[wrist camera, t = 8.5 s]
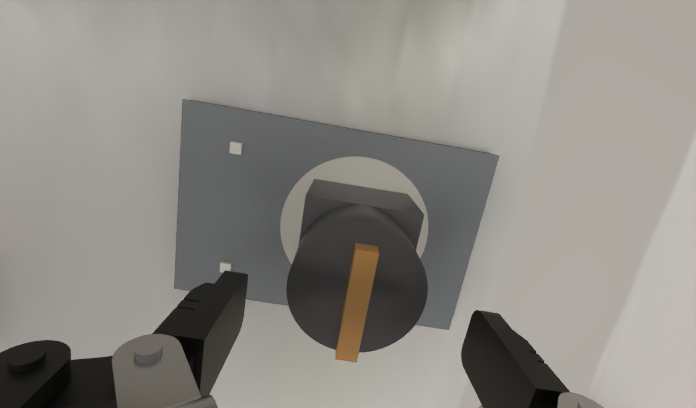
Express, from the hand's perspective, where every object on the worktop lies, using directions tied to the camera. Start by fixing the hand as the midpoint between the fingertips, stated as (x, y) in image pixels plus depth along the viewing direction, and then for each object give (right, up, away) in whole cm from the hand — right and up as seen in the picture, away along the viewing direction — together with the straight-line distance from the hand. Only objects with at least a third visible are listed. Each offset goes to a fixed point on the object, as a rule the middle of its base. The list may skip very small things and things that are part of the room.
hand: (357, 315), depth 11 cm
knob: (0, +2, +7) cm, 8 cm away
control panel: (-1, +3, +8) cm, 9 cm away
